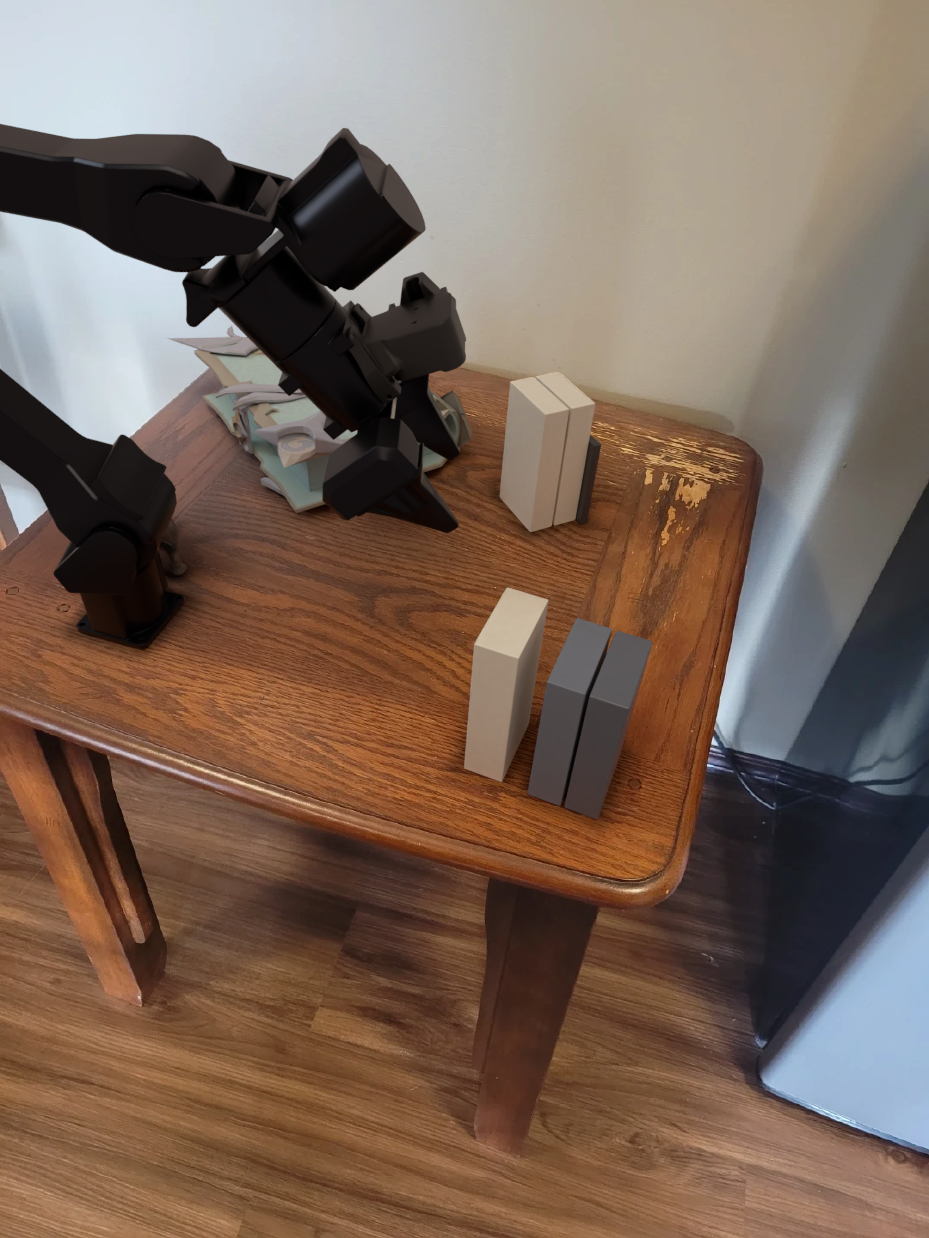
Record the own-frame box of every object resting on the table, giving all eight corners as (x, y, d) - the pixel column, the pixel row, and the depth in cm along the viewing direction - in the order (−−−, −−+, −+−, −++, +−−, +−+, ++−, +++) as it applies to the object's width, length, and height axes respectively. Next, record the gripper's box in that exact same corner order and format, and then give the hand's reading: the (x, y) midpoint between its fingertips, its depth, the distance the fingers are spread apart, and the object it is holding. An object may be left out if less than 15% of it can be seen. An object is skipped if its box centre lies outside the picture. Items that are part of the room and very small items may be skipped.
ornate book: (481, 480, 91) (348, 354, 107) (489, 400, 84) (346, 279, 100) (285, 546, 81) (173, 397, 98) (277, 462, 74) (157, 317, 91)
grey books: (527, 794, 61) (546, 681, 52) (554, 730, 65) (576, 617, 57) (597, 820, 59) (629, 709, 51) (620, 753, 64) (653, 640, 56)
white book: (463, 768, 62) (473, 643, 53) (492, 711, 66) (506, 586, 57) (501, 782, 61) (518, 658, 52) (529, 723, 65) (548, 599, 56)
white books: (534, 537, 82) (550, 419, 73) (495, 493, 87) (505, 377, 78) (587, 522, 84) (608, 405, 76) (546, 480, 90) (562, 365, 81)
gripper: (388, 319, 44) (554, 512, 53) (407, 200, 58) (537, 368, 66) (242, 434, 49) (417, 594, 57) (291, 298, 62) (427, 444, 71)
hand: (454, 490), depth 63 cm, fingers open, 9 cm apart
